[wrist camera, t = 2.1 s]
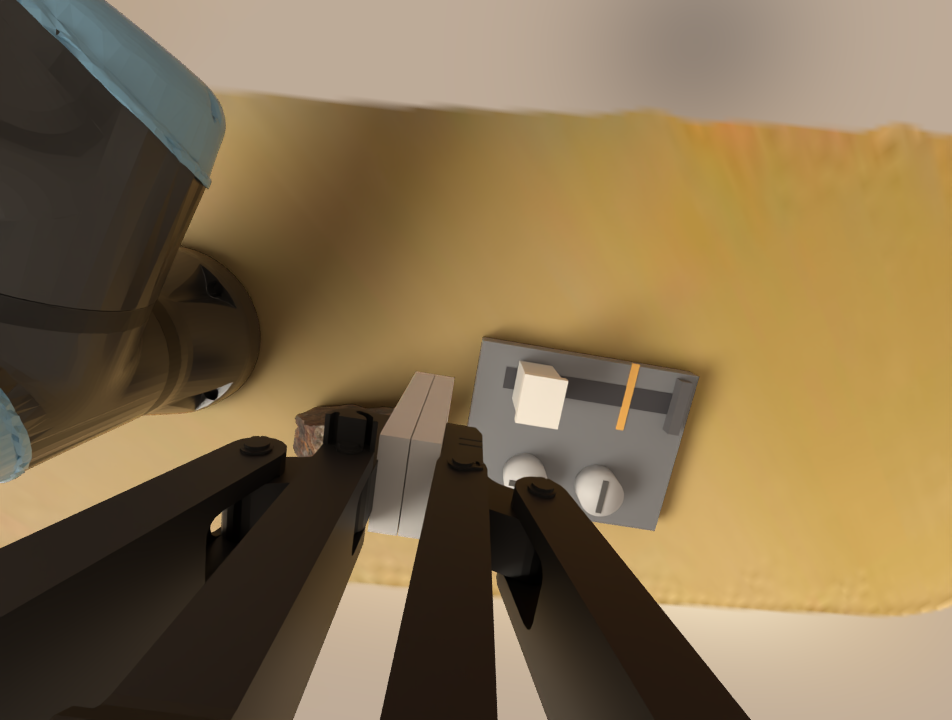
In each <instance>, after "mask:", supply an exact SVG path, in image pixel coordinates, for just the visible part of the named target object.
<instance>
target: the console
mask: <svg viewBox="0 0 952 720" xmlns="http://www.w3.org/2000/svg"><path fill="white" fill-rule="evenodd" d="M519 361H525V362H531V363H537V364H543V365H549V366H553V368H554V369H555V370H556V372H557V373H558V374H559V376H560V377H561V378H566V379H567V380H568V386H567V390H566V394H565V399H564V403H563V408H562V412H561V417H560V421H559V426H558V430H557V429H551V428H545V427H538V426H532V425H526V424H520V423H515V420H514V418H515V413H516V411H515V407H514V404H513V400H512V396H513V391H514V386H515V381H516V376H517V371H518V366H519ZM698 379H699V376H697V375H695V374H693V373H691V372H689V371H684V370H678V369H672V368H666V367H660V366H654V365H648V364H642V363H636V362H630V361H624V360H618V359H612V358H606V357H600V356H594V355H588V354H582V353H576V352H570V351H564V350H558V349H553V348H547V347H541V346H535V345H529V344H523V343H517V342H511V341H505V340H499V339H493V338H487V337H483V339H482V344H481V350H480V356H479V361H478V367H477V373H476V378H475V384H474V390H473V396H472V401H471V407H470V413H469V418H468V424H467V426H469V427H476V428H477V429H478V430H479V431H480V432H481V433H482V439H483V442H482V443H483V463H485V464H486V467H487V469H488V477H489V478H490V479H492V480H493V481H495V482H497V483H499V484H501V485H504V486H507V487H510V488H513V489H514V486H515V483H516V481H517V480H518V479H520V478H523V477H530V476H533V477H544V478H545V479H547V478H548V479H550V480H552V481H553V482H555V483H557V484H559V485H561V486H562V487H563V488H564V489H565V490H566V491H567V492H568V493H569V494H570V495H571V497H572V498H573V499H574V500H575V502H576V503H577V504H578V505H579V507H580V508H581V509H582V510H583V512H584V513H585V514H586V515H587V517H588V518H589V519H590V520H591V521H592V522H599V523H606V524H612V525H619V526H625V527H632V528H638V529H645V530H652V531H655V528H656V525H657V521H658V518H659V514H660V511H661V507H662V504H663V500H664V497H665V493H666V490H667V487H668V483H669V480H670V476H671V473H672V469H673V466H674V462H675V459H676V455H677V452H678V449H679V445H680V442H681V438H682V435H683V431H684V428H685V424H686V421H687V417H688V414H689V411H690V407H691V404H692V400H693V397H694V393H695V390H696V386H697V383H698Z"/></svg>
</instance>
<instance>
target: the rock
mask: <svg viewBox="0 0 952 720" xmlns="http://www.w3.org/2000/svg"><path fill="white" fill-rule="evenodd" d="M344 408H352V409H361V410H365V411H369V412H371V413H378V414H384V415H391V414H392V412H393V410H394V409H395V408H391V407H379V408H363V407H361V406H357V405H353V404H349V405H341V406H331V407H326V406H323V407H314V408H312V409H311V410H309V411H307V412H304V413H301V414H298V415H297V416H296V418H295V420H296V424H297V426H298V427H297V429H296V430H295V438H294V444H293V448H294V451H295V453H296V455H297V456H298V457H310V456H313V455H314V454H315V453H316V451H317V450H318V449H319V448H320V447H321V446H322V444H323V435H324V424H325V414H326V413H327V412H329V411H331V410H336V409H344Z"/></svg>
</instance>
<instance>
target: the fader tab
mask: <svg viewBox="0 0 952 720" xmlns="http://www.w3.org/2000/svg"><path fill="white" fill-rule="evenodd" d="M567 386H568V380H567V379H566V378H561V377H560V376H559V374H558V373H557V372H556V370H555V369H554V368H553V366H549V365H543V364H537V363H531V362H525V361H519V366H518V371H517V376H516V381H515V386H514V391H513V396H512V400H513V404H514V407H515V411H516V413H515V418H514V420H515V423H520V424H526V425H532V426H538V427H545V428H551V429H557V430H558V426H559V421H560V417H561V412H562V408H563V403H564V399H565V394H566V390H567Z"/></svg>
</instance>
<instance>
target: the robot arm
mask: <svg viewBox="0 0 952 720" xmlns="http://www.w3.org/2000/svg"><path fill="white" fill-rule="evenodd" d="M225 128H226V122H225V116H224V112H223V109H222V107H221V104H220V102H219V101H218V99H217V98H216V96H215V95H214V93H213V92H212V91H211V90H210V89H209V87H208V86H207V85H206V84H205V83H204V82H203V81H202V80H200V79H199V78H198V77H197V76H196V75H195V74H194V73H193V72H192V71H190V70H189V69H188V68H187V67H186V66H185V65H184V64H182V63H181V62H180V61H179V60H178V59H177V58H175V57H174V56H173V55H172V54H171V53H169V52H168V51H167V50H166V49H165V48H164V47H162V46H161V45H160V44H158V43H157V42H156V41H155V40H154V39H152V38H151V37H150V36H149V35H148V34H147V33H145V32H144V31H143V30H142V29H140V28H139V27H138V26H137V25H135V24H134V23H133V22H132V21H130V20H129V19H128V18H127V17H125V16H124V15H123V14H122V13H120V12H119V11H118V10H117V9H115V8H114V7H113V6H112V5H110V4H109V3H108V2H107V1H105V0H0V483H5V482H9V481H11V480H13V479H15V478H17V477H19V476H21V474H23V473H25V471H26V470H28V469H30V468H32V467H34V466H36V465H38V464H41V463H43V462H45V461H47V460H49V459H51V458H53V457H55V456H57V455H60V454H62V453H64V452H66V451H68V450H70V449H72V448H74V447H77V446H79V445H81V444H83V443H85V442H87V441H90V440H92V439H94V438H96V437H98V436H100V435H102V434H105V433H107V432H109V431H111V430H113V429H115V428H117V427H120V426H122V425H124V424H126V423H128V422H130V421H133V420H134V419H136V418H139V417H141V416H143V415H163V414H181V413H189V412H194V411H198V410H201V409H204V408H207V407H209V406H211V405H213V404H215V403H217V402H219V401H221V400H223V399H225V398H226V397H228V396H230V395H231V394H233V393H234V392H235V391H236V390H238V389H239V388H240V387H241V386H242V385H243V384H244V382H245V381H246V380H247V379H248V377H249V376H250V374H251V372H252V370H253V368H254V366H255V364H256V361H257V357H258V354H259V348H260V328H259V322H258V317H257V314H256V311H255V308H254V305H253V303H252V301H251V299H250V297H249V295H248V293H247V292H246V290H245V289H244V287H243V286H242V284H241V283H240V282H239V281H238V280H237V278H236V277H235V276H234V275H233V274H232V273H231V272H230V271H229V270H228V269H226V268H225V267H224V266H223V265H221V264H220V263H219V262H217V261H216V260H214V259H212V258H211V257H209V256H207V255H205V254H203V253H200V252H198V251H195V250H192V249H189V248H185V247H180V244H181V242H182V240H183V238H184V235H185V233H186V231H187V229H188V227H189V224H190V222H191V220H192V218H193V215H194V213H195V211H196V209H197V206H198V204H199V202H200V200H201V197H202V195H203V193H204V191H205V189H206V188H207V189H209V187H210V185H211V179H210V175H211V172H212V169H213V166H214V163H215V159H216V156H217V154H218V151H219V148H220V145H221V143H222V140H223V137H224V134H225ZM434 377H435V378H434ZM454 379H455V377H449V376H442V375H435V374H430V373H423V372H417V371H416V372H415V374H414V376H413V377H412V379H411V381H410V383H409V384H408V386H407V388H406V390H405V391H404V393H403V395H402V397H401V398H400V400H399V402H398V403H397V405H396V407H395V409H394V410H393V412H392V414H391V415H384V414H378V413H371V412H369V411H365V410H361V409H352V408H344V409H336V410H331V411H329V412H327V413H326V414H325V424H324V435H323V444H322V446H321V447H320V448H319V449H318V450H317V451H316V453H315V454H314V455H313V456H310V457H286V451H287V446H286V445H285V444H284V443H283V442H282V441H279V440H277V439H273V438H268V437H266V436H261V437H260V436H253V437H251V438H244V439H240V440H237V441H234V442H232V443H229V444H227V445H225V446H223V447H221V448H219V449H216V450H214V451H212V452H210V453H208V454H205V455H203V456H201V457H199V458H197V459H195V460H192V461H190V462H188V463H186V464H184V465H181V466H179V467H177V468H175V469H173V470H171V471H168V472H166V473H164V474H162V475H160V476H157V477H155V478H153V479H151V480H149V481H146V482H144V483H142V484H140V485H138V486H136V487H133V488H131V489H129V490H127V491H125V492H122V493H120V494H118V495H116V496H114V497H112V498H109V499H107V500H105V501H103V502H101V503H98V504H96V505H94V506H92V507H90V508H88V509H85V510H83V511H81V512H79V513H77V514H74V515H72V516H70V517H68V518H66V519H63V520H61V521H59V522H57V523H55V524H53V525H50V526H48V527H46V528H44V529H42V530H39V531H37V532H35V533H33V534H31V535H29V536H26V537H24V538H22V539H20V540H18V541H15V542H13V543H11V544H9V545H7V546H5V547H2V548H0V720H293V718H294V716H295V713H296V710H297V708H298V705H299V703H300V700H301V698H302V695H303V693H304V690H305V688H306V685H307V683H308V680H309V678H310V675H311V673H312V670H313V668H314V665H315V663H316V660H317V658H318V655H319V653H320V650H321V648H322V645H323V643H324V640H325V638H326V635H327V632H328V630H329V628H330V625H331V623H332V620H333V618H334V615H335V613H336V610H337V608H338V605H339V602H340V600H341V597H342V595H343V593H344V590H345V588H346V585H347V583H348V580H349V578H350V575H351V573H352V570H353V568H354V565H355V563H356V560H357V558H358V555H359V553H360V550H361V548H362V545H363V542H364V534H365V526H366V523H367V521H368V518H369V525H368V532H375V533H382V534H389V535H396V536H397V533H398V536H402V537H409V538H416V539H419V543H418V548H417V553H416V557H415V562H414V566H413V571H412V576H411V580H410V585H409V589H408V594H407V598H406V603H405V608H404V612H403V617H402V621H401V626H400V631H399V635H398V640H397V644H396V649H395V653H394V658H393V663H392V667H391V672H390V676H389V681H388V685H387V690H386V694H385V699H384V704H383V708H382V713H381V717H380V720H498V719H497V696H496V695H497V694H496V669H495V645H494V620H493V594H492V571H495V572H497V576H496V579H497V585H498V588H499V591H500V593H501V596H502V599H503V601H504V604H505V606H506V609H507V612H508V615H509V617H510V620H511V623H512V625H513V628H514V631H515V633H516V636H517V639H518V641H519V644H520V646H521V650H522V652H523V655H524V657H525V660H526V663H527V666H528V668H529V671H530V673H531V676H532V679H533V682H534V684H535V687H536V690H537V692H538V695H539V698H540V700H541V703H542V706H543V708H544V711H545V713H546V716H547V719H548V720H751V719H750V718H749V717H748V716H747V714H746V713H745V712H744V711H743V709H742V708H741V707H740V706H739V704H738V703H737V702H736V701H735V700H734V698H733V697H732V696H731V695H730V693H729V692H728V691H727V690H726V688H725V687H724V686H723V685H722V683H721V682H720V681H719V680H718V678H717V677H716V676H715V675H714V673H713V672H712V671H711V670H710V668H709V667H708V666H707V665H706V663H705V662H704V661H703V660H702V659H701V657H700V656H699V655H698V653H697V652H696V651H695V650H694V648H693V647H692V646H691V645H690V643H689V642H688V641H687V640H686V638H685V637H684V636H683V635H682V634H681V632H680V631H679V630H678V629H677V627H676V626H675V625H674V624H673V622H672V621H671V620H670V619H669V617H668V616H667V615H666V614H665V613H664V611H663V610H662V609H661V607H660V606H659V605H658V604H657V602H656V601H655V600H654V599H653V597H652V596H651V595H650V594H649V592H648V591H647V590H646V589H645V587H644V586H643V585H642V584H641V583H640V581H639V580H638V579H637V578H636V576H635V575H634V574H633V573H632V571H631V570H630V569H629V568H628V566H627V565H626V564H625V563H624V561H623V560H622V559H621V558H620V556H619V555H618V554H617V553H616V551H615V550H614V549H613V548H612V546H611V545H610V544H609V543H608V541H607V540H606V539H605V538H604V536H603V535H602V534H601V533H600V532H599V530H598V529H597V528H596V527H595V525H594V524H593V523H592V522H591V520H590V519H589V518H588V517H587V515H586V514H585V513H584V512H583V510H582V509H581V508H580V507H579V505H578V504H577V503H576V502H575V500H574V499H573V498H572V497H571V495H570V494H569V493H568V492H567V491H566V490H565V489H564V488H563V487H562V486H561V485H559V484H557V483H555V482H553V481H552V480H550V479H548V478H547V479H545V478H544V477H533V476H530V477H523V478H520V479H518V480H517V481H516V483H515V486H514V489H513V488H510V487H507V486H504V485H501V484H499V483H497V482H495V481H493V480H492V479H490V478H489V477H488V469H487V467H486V464H485V463H483V443H482V442H483V439H482V433H481V432H480V431H479V430H478V429H477V428H476V427H469V426H463V425H457V424H450V423H448V417H449V410H450V404H451V398H452V391H453V385H454ZM221 512H222V522H221V527H220V528H219V529H217V530H216V531H214V532H212V533H211V530H210V525H211V523H212V522H213V520H214V518H215V517H217V516H218V515H219V514H220V513H221ZM369 516H370V517H369ZM398 529H399V531H398Z"/></svg>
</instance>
